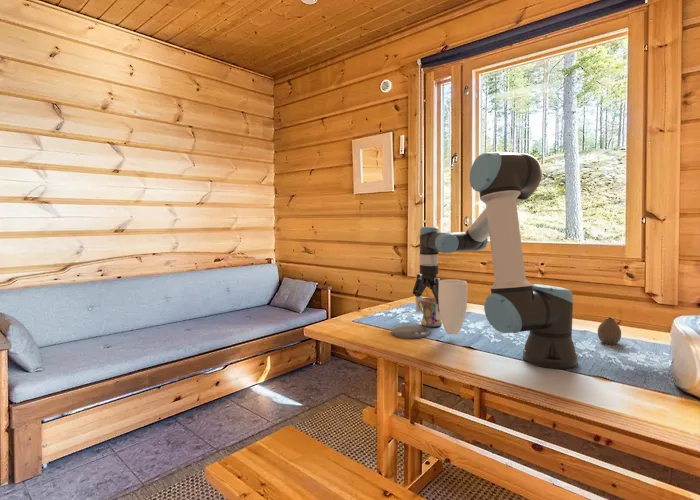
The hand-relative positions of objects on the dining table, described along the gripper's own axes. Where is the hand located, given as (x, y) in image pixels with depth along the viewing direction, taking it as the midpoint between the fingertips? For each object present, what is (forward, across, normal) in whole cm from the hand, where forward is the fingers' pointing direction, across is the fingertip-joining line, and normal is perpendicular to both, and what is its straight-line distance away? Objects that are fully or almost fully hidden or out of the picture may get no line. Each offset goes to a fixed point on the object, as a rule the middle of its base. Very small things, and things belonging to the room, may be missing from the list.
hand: (428, 315), depth 168 cm
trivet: (+4, -7, +14) cm, 16 cm away
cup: (+4, -22, +6) cm, 23 cm away
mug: (+4, 0, 0) cm, 4 cm away
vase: (+3, -49, -40) cm, 64 cm away
